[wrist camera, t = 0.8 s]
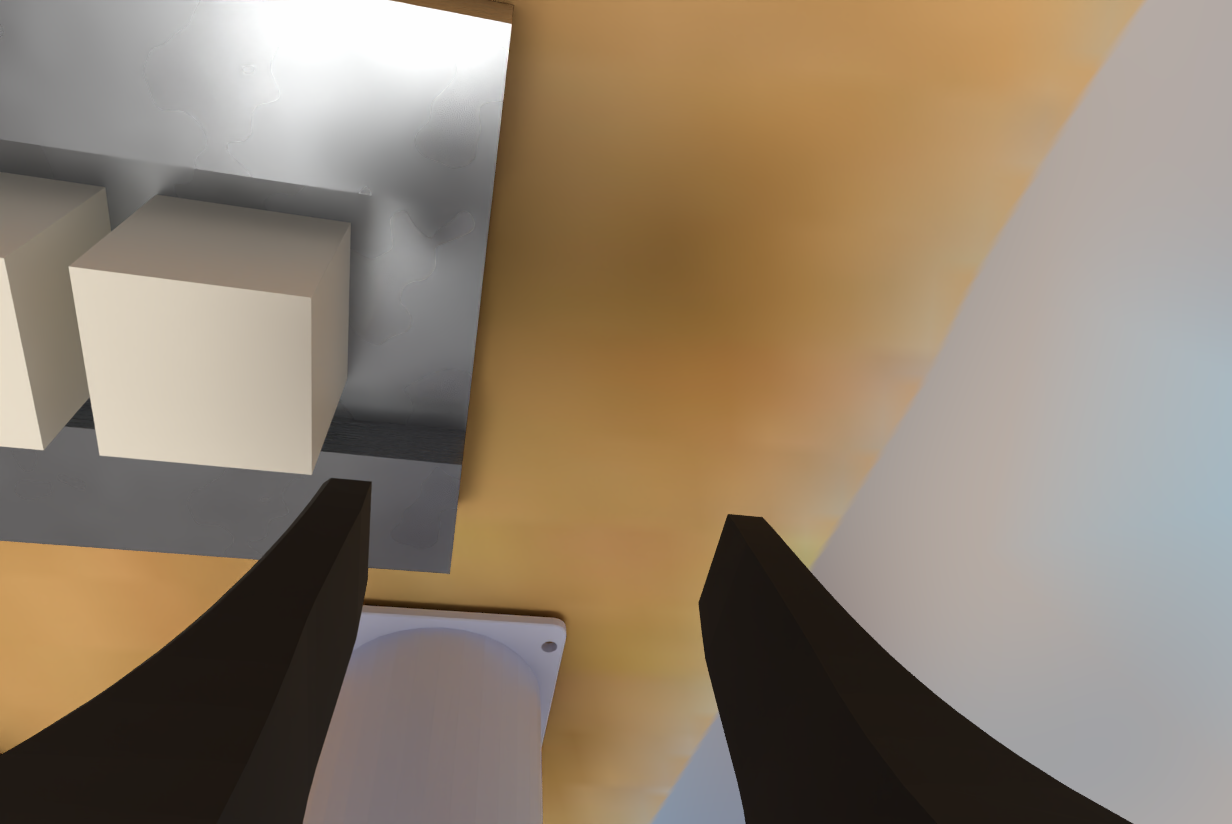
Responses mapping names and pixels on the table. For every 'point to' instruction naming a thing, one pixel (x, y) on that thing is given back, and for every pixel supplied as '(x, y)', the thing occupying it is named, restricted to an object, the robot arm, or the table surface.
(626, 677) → the table surface
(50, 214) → the beige cube
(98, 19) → the slotted plate
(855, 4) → the table surface
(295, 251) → the cream cube block
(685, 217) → the table surface
